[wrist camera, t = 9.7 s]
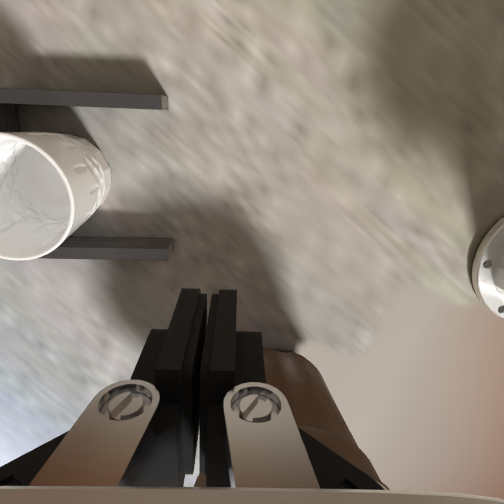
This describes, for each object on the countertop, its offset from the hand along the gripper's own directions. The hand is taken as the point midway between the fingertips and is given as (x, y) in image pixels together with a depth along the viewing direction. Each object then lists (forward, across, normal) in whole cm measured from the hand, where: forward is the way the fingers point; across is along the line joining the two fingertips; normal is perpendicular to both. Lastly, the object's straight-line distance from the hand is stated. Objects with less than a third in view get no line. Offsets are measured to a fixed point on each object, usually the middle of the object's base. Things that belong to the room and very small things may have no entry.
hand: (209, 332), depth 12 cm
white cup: (+23, +14, -1) cm, 27 cm away
